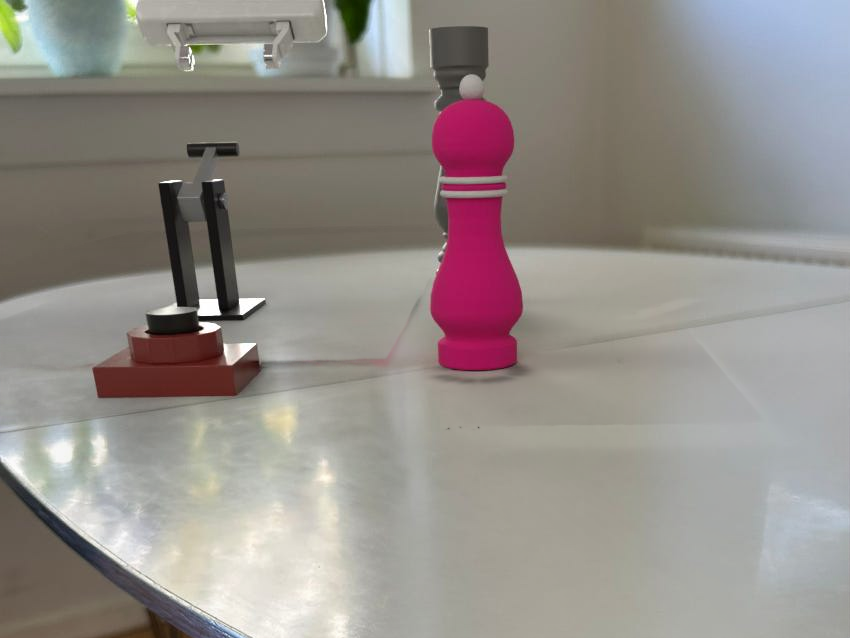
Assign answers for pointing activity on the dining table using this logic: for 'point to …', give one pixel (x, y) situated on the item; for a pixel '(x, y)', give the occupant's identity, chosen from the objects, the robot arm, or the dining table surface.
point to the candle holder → (454, 82)
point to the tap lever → (202, 177)
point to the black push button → (172, 321)
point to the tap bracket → (221, 253)
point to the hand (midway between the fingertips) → (227, 65)
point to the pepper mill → (475, 236)
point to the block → (177, 365)
